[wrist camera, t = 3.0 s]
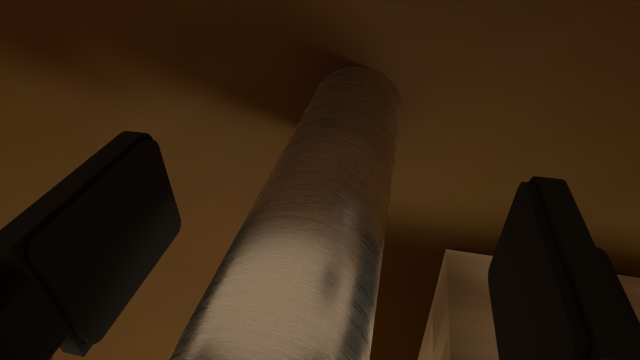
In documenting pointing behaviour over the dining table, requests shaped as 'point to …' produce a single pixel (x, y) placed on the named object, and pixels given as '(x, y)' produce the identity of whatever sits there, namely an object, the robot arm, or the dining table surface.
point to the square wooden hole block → (473, 310)
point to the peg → (309, 237)
